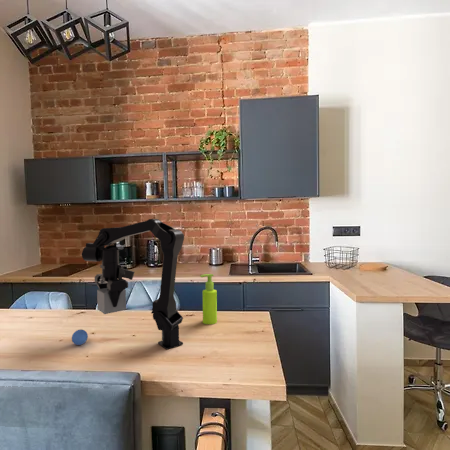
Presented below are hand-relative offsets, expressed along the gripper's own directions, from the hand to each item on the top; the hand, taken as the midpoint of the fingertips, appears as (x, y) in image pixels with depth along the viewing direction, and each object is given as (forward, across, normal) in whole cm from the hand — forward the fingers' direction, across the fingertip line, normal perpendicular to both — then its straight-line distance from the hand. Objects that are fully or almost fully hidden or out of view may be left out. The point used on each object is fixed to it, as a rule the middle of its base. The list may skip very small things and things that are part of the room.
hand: (111, 304), depth 111 cm
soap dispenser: (+12, -11, -36) cm, 40 cm away
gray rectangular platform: (+2, 0, 0) cm, 2 cm away
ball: (+9, 0, +11) cm, 14 cm away
